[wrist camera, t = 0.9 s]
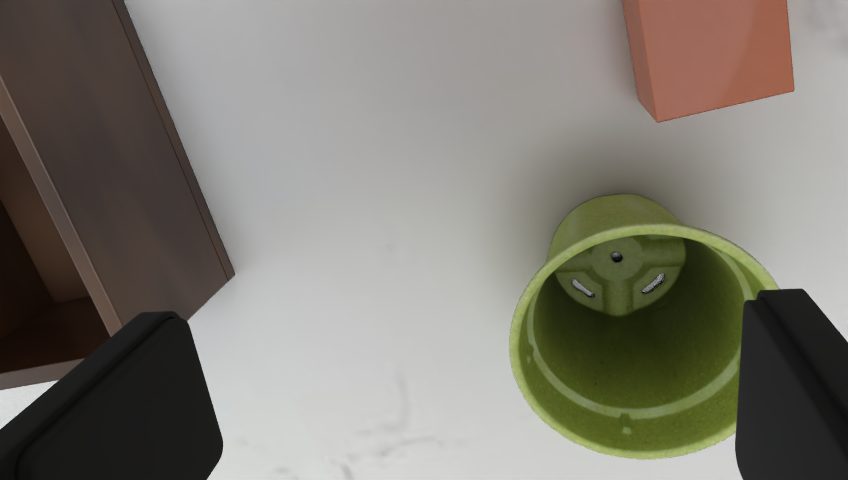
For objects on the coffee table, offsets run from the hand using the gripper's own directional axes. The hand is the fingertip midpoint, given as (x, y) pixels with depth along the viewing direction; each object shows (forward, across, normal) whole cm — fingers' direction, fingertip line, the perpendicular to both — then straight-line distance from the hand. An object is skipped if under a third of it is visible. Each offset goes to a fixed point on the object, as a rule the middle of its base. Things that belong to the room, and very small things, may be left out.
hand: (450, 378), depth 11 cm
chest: (+20, +22, 0) cm, 29 cm away
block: (+20, -8, -3) cm, 21 cm away
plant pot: (+20, -5, +7) cm, 22 cm away
